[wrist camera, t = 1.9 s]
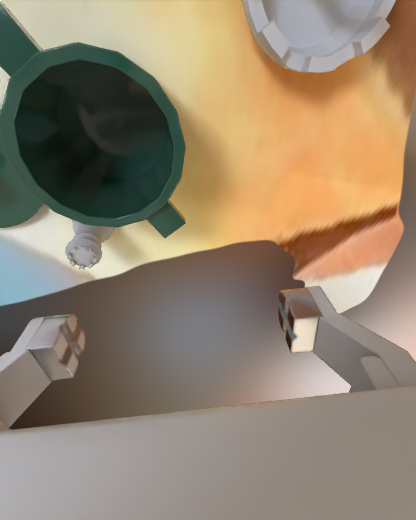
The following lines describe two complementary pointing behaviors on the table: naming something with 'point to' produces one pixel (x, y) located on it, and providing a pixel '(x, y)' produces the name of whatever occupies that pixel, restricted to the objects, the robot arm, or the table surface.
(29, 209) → the tin lid
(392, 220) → the table surface
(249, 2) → the flag stand
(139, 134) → the tin
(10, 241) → the table surface
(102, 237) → the rook chess piece
